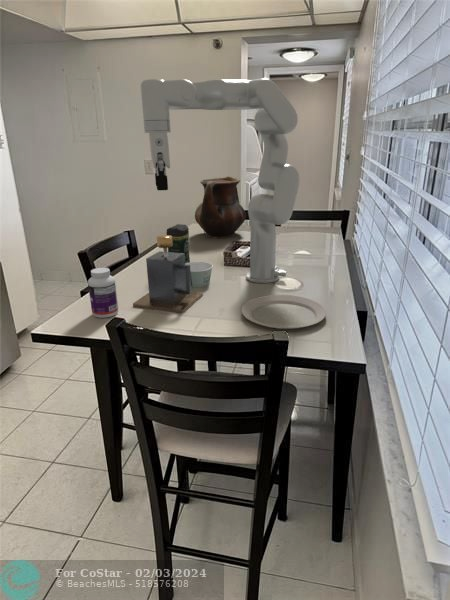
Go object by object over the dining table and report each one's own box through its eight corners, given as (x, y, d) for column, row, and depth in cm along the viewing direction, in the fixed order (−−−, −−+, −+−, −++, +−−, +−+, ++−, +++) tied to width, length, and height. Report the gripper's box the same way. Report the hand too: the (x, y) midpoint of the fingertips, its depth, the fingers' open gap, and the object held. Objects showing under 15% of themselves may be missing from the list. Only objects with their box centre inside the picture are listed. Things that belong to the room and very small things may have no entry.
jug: (201, 228, 249) (199, 175, 238) (248, 228, 246) (248, 175, 235) (189, 241, 220) (186, 181, 209) (242, 242, 216) (242, 181, 205)
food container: (206, 289, 152) (205, 272, 150) (176, 286, 156) (175, 269, 154) (218, 279, 163) (217, 263, 160) (189, 276, 167) (188, 260, 164)
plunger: (181, 294, 144) (177, 235, 136) (172, 300, 138) (168, 239, 131) (164, 292, 146) (160, 234, 138) (155, 298, 140) (150, 238, 133)
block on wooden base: (202, 295, 147) (201, 251, 141) (183, 313, 133) (180, 265, 127) (156, 290, 152) (152, 247, 147) (133, 306, 138) (128, 260, 133)
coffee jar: (183, 274, 169) (181, 228, 162) (165, 272, 171) (162, 227, 164) (193, 267, 177) (191, 223, 170) (175, 266, 179) (173, 222, 173)
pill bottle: (95, 309, 136) (89, 266, 131) (120, 308, 137) (115, 265, 132) (90, 319, 129) (83, 274, 124) (116, 318, 130) (111, 273, 124)
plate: (314, 299, 143) (315, 293, 142) (335, 332, 119) (336, 326, 118) (238, 301, 142) (238, 295, 141) (244, 335, 118) (244, 329, 117)
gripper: (172, 126, 115) (176, 191, 122) (168, 127, 131) (172, 184, 138) (144, 127, 114) (149, 192, 121) (143, 128, 130) (148, 185, 136)
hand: (161, 188), depth 129 cm, fingers open, 9 cm apart
